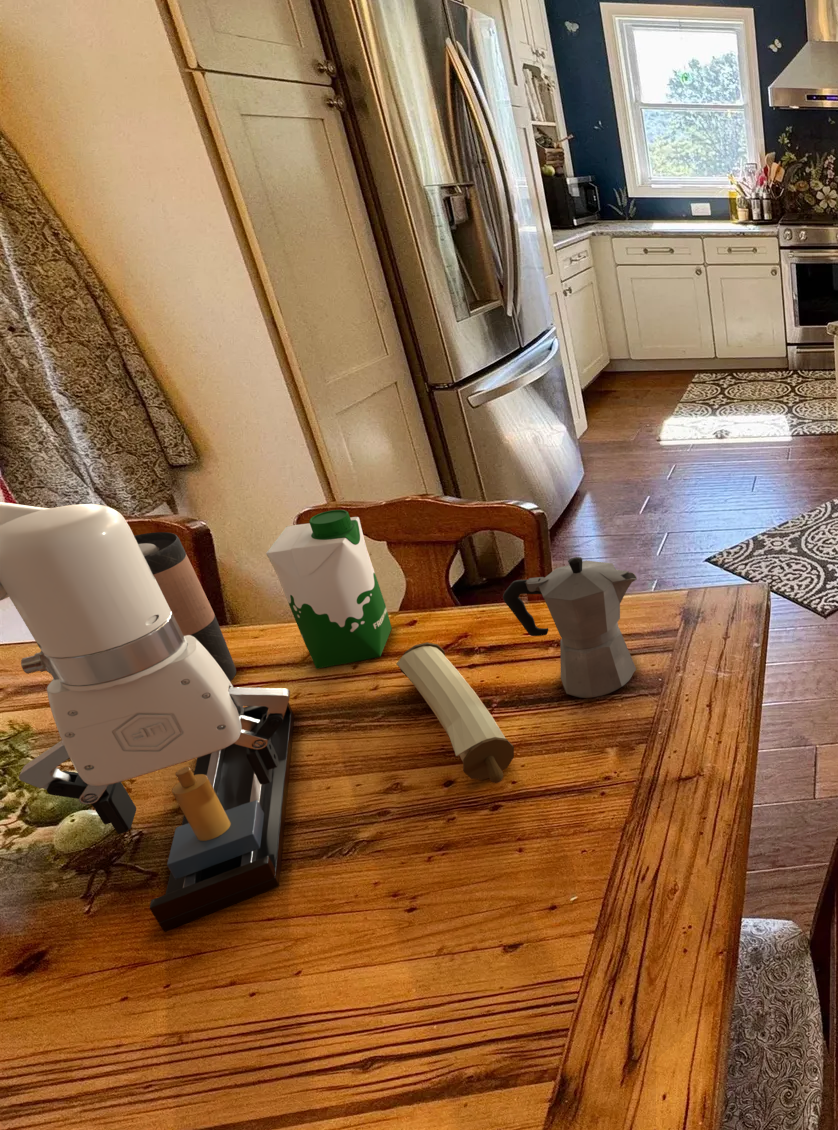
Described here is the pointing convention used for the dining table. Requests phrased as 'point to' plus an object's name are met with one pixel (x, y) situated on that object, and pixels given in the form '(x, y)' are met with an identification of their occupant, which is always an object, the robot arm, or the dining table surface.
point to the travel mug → (185, 594)
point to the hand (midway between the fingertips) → (200, 797)
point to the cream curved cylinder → (458, 712)
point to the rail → (250, 869)
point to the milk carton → (332, 588)
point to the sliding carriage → (210, 827)
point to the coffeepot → (582, 623)
